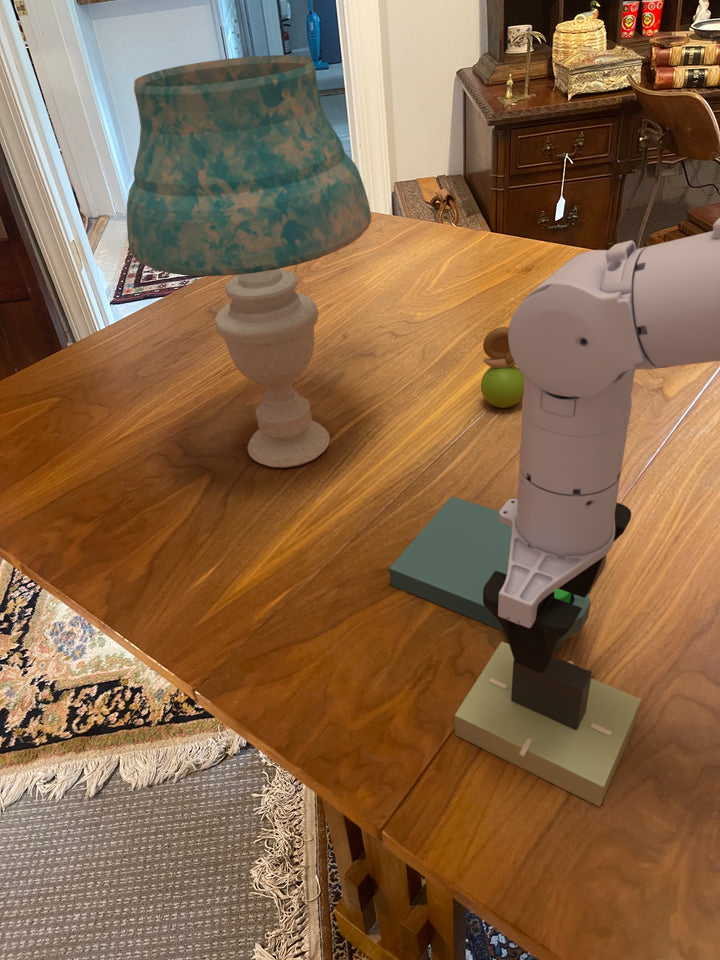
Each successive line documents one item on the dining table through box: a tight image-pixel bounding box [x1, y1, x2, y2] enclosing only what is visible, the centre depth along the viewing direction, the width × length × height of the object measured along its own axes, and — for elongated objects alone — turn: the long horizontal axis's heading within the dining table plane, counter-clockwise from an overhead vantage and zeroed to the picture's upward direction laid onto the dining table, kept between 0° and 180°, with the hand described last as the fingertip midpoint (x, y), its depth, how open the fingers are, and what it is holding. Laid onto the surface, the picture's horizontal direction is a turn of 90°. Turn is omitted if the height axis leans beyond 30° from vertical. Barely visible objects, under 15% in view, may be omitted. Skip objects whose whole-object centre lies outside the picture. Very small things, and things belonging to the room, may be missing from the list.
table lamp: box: [126, 54, 372, 469], centre depth 76 cm, size 24×24×40 cm
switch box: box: [388, 495, 608, 653], centre depth 66 cm, size 18×13×4 cm
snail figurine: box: [480, 326, 525, 409], centre depth 88 cm, size 5×6×12 cm
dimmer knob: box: [511, 655, 593, 730], centre depth 52 cm, size 5×2×5 cm, turn 56°
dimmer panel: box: [454, 641, 642, 807], centre depth 54 cm, size 11×9×3 cm
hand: (552, 625), depth 51 cm, fingers open, 7 cm apart
